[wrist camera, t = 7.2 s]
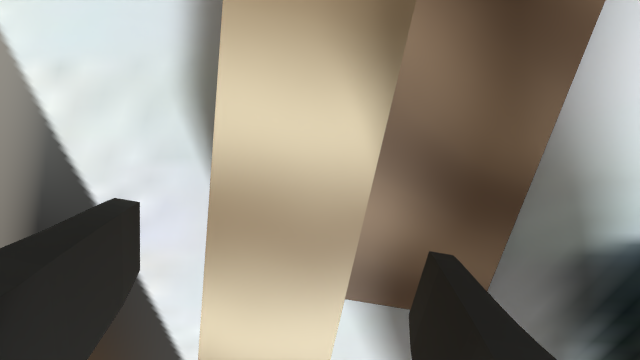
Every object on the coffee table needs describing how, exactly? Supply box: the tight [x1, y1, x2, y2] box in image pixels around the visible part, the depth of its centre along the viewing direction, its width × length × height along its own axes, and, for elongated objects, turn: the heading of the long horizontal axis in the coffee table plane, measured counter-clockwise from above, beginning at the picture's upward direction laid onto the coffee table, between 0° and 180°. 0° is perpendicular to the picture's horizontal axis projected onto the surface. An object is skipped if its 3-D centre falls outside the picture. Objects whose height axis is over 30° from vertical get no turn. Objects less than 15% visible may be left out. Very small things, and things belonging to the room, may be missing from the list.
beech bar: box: [198, 0, 416, 360], centre depth 14 cm, size 13×4×4 cm, turn 171°
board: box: [345, 0, 605, 310], centre depth 19 cm, size 14×11×1 cm
